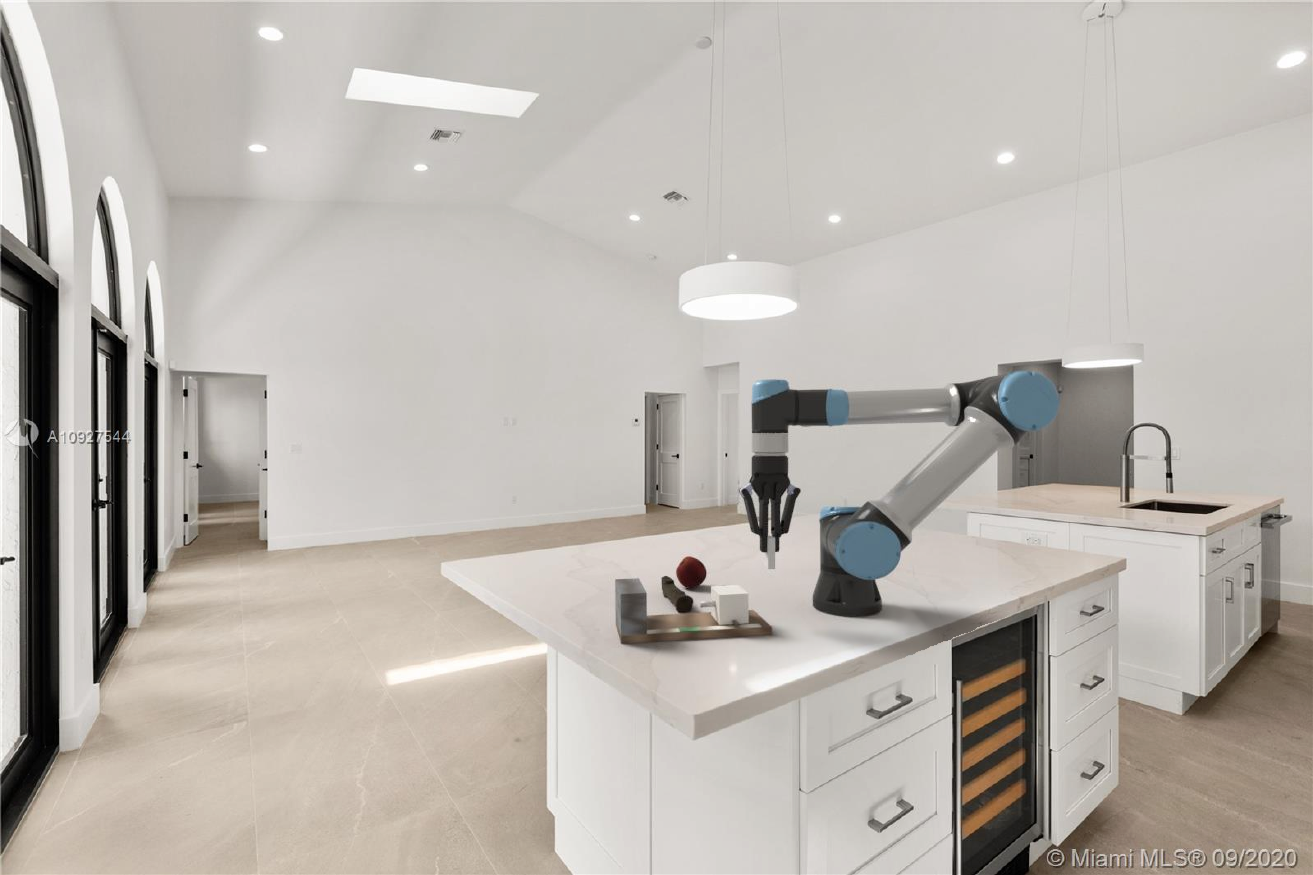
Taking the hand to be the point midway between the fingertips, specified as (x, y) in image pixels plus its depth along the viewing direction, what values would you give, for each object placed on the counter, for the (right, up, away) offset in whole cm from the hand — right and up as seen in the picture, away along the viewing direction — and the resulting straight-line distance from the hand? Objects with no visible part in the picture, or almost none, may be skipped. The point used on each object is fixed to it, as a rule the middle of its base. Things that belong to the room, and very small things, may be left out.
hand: (769, 567), depth 130 cm
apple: (-14, -12, +31) cm, 36 cm away
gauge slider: (-10, -10, -3) cm, 15 cm away
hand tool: (-20, -12, +18) cm, 30 cm away
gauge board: (-16, -12, -2) cm, 21 cm away
